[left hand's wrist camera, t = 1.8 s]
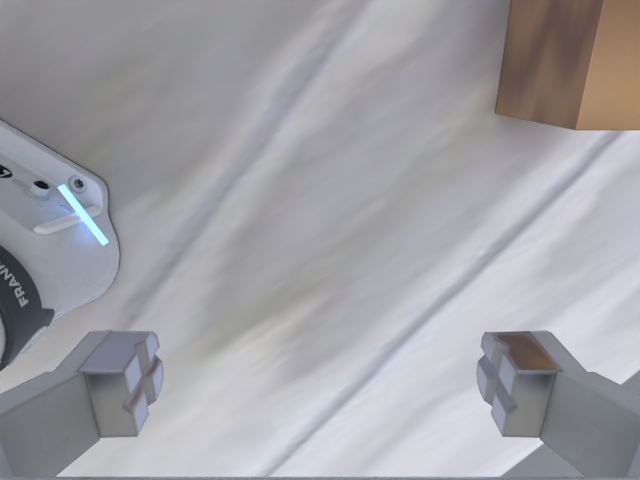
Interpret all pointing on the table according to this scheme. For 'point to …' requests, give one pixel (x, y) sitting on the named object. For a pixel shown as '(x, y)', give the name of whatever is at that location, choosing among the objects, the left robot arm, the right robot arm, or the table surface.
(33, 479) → the left robot arm
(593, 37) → the box
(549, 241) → the table surface
